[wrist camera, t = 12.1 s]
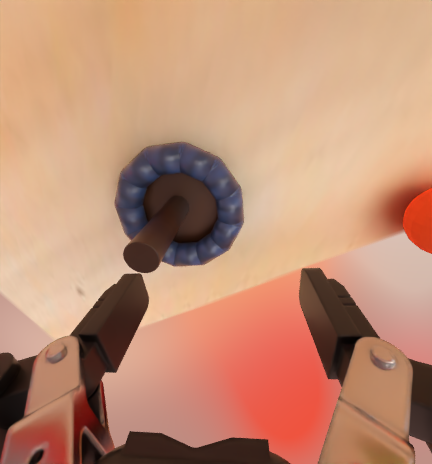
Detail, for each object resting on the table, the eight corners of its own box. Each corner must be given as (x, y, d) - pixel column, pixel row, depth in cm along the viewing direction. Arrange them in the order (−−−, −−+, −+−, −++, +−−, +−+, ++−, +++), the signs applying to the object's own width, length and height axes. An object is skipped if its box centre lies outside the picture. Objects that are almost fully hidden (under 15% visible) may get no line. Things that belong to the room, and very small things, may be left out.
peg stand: (216, 157, 21) (201, 183, 11) (223, 235, 25) (217, 308, 15) (133, 164, 22) (46, 195, 12) (152, 238, 26) (100, 310, 16)
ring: (237, 133, 19) (237, 134, 16) (246, 253, 24) (247, 267, 22) (106, 151, 20) (90, 154, 18) (142, 260, 26) (133, 273, 24)
